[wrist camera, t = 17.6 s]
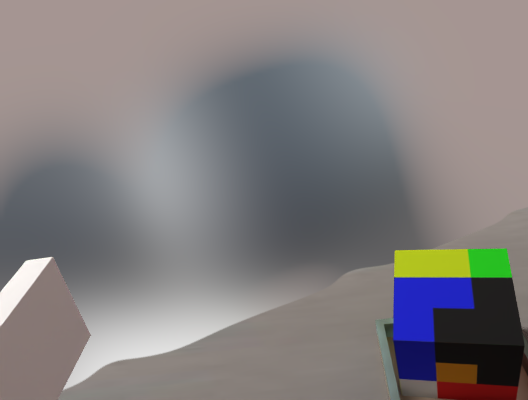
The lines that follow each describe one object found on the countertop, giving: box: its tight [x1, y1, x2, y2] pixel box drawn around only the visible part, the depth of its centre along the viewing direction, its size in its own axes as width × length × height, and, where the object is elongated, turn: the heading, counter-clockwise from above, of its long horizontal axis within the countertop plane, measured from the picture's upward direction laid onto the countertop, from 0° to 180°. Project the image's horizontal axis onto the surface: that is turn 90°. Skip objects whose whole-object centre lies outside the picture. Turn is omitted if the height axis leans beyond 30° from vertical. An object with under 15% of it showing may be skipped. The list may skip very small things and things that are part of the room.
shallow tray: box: [375, 318, 528, 400], centre depth 49 cm, size 14×14×3 cm
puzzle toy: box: [393, 249, 525, 400], centre depth 47 cm, size 10×10×10 cm
